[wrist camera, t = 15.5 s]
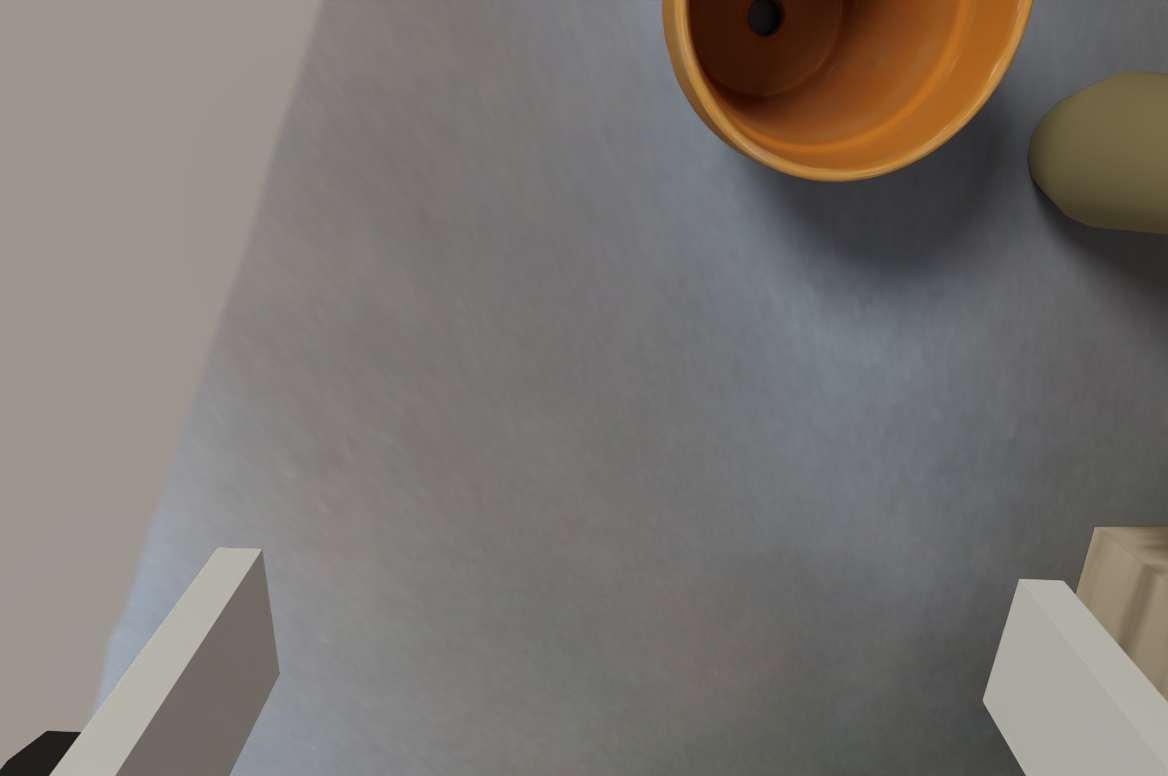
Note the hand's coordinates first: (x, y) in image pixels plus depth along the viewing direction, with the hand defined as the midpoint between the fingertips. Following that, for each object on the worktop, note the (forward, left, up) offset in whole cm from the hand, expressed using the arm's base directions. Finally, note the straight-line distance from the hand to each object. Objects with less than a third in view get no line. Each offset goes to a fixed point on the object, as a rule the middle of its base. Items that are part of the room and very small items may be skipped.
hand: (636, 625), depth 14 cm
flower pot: (-15, +7, -35) cm, 38 cm away
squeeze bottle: (-14, +27, -35) cm, 46 cm away
